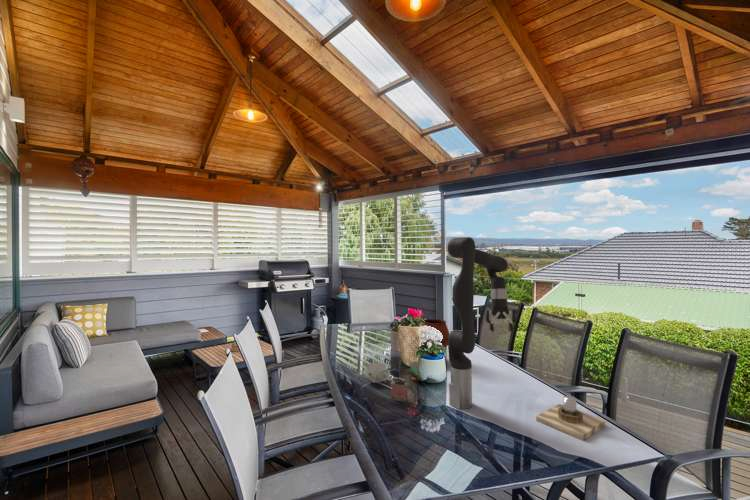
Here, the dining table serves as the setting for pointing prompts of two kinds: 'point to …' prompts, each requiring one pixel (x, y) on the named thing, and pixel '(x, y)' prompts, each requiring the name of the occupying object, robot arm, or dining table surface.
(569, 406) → the roller
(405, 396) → the lighter
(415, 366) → the food container
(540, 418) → the wooden board with ring
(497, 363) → the dining table surface
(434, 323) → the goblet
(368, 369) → the grey spiky lump
